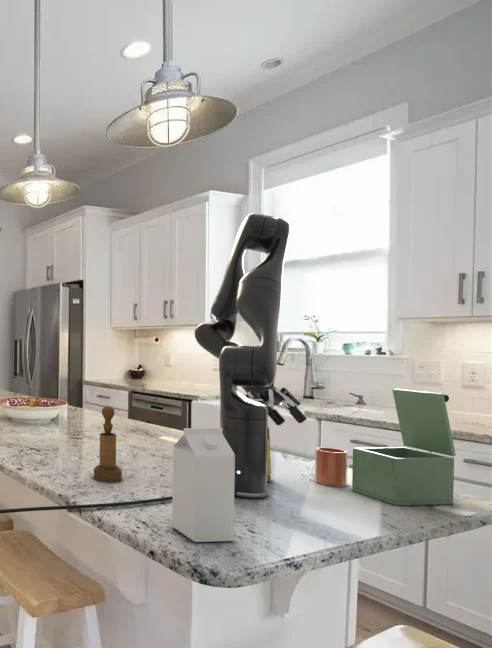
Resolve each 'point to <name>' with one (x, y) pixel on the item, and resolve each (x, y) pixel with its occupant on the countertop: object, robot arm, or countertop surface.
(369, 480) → the box
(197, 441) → the milk carton
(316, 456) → the cup
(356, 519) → the countertop surface
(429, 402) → the lid
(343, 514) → the countertop surface
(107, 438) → the brown wooden tall piece
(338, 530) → the countertop surface
